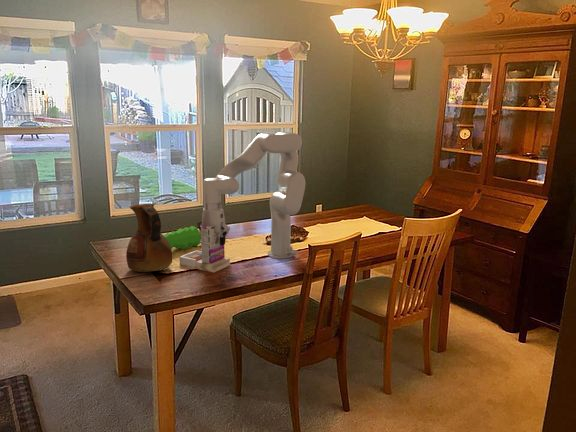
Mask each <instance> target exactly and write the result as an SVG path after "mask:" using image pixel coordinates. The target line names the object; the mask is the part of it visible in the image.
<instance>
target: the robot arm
mask: <svg viewBox="0 0 576 432" xmlns="http://www.w3.org/2000/svg"><path fill="white" fill-rule="evenodd" d="M302 145H303V140H302V136H301V135H299V134H298V133H295V132H288V131H279V132H276V133H274V134H272V133H264V132H261V133H259V134H257V136H255V137H254V139H253V140H252V141H251V142H250V143H249V144H248V145H247V147H246V148H244V150H243V151H242V153H241V154H240V155H239V156H237V157H235V158H234V159H232V160H231V161H230V162H228V163H227V164H226V165H225V166H223V168H222V169H221V170H220V171H219V172H218V173H217V175H216V176H215V177H207V178H204V179H203V181H202V185H203V186H202V189H203V192H202V193H203V209H202V214H201V215H202V216H201V221H199V222H197V223H196V224H197V225H196V226H197V228H198V231H201V227H204V226H211V227H214V231H215V232H218V233H219V234H220V236H221V237H220V245H221V246H222V245H224V246H225V245H226V236H227V235H228V234H229V232H230V230H231V227H230V226H229V225H227V224H226V219H225V218H226V217H225V213H224V209H223V206H224V205H223V204H222V197H221V196H222V195H233V194H236V193H237V192H238V191H239V189H240V183H239V181H238V180H237V179H236V177H237V176H238V175H240V174H242V173H244V172H248V171H251V170H253V169H254V168H255V167H256V166H257V165H258V164H259V163H260V162H261V160H262V159H263V158H264V157H265V155H266V154H267V153H268V154H279V156H280V163H279V168H278V173H277V178H276V184H277V186H278V187H279V188H280V189H283V190H285V191H281V190H279V191H275V192H273V193H272V195H271V196H270V199H269V209H270V215H271V216H270V217H271V218H270V220H271V221H270V223H271V224H270V225H271V226H270V250H269V251H268V252H267V256H268V257H270V258H272V259H278V260H279V259H281V260H282V259H290V258H292V257H293V256H296V255H297V254H298V252H297V251H298V250H297V249H293V246H292V245H291V234H292V233H291V231H292V230H291V228H292V227H291V225H292V224H291V223H292V218H291V217H292V216H293V215H297V214H298V212H299V211H300V209H301V207H302V203H303V199H304V196H305V195H304V194H305V190H306V179H305V178H306V177H305V176H304V175H303V174H302V173H301V172H299V171H298V165H299V154H298V151H299V150H300V149H301V148H302ZM222 233H223V234H222Z"/></svg>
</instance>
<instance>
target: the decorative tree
mask: <svg viewBox="0 0 576 432" xmlns="http://www.w3.org/2000/svg"><path fill="white" fill-rule="evenodd" d="M163 236H164V237H165V238H166V239H167V241H168V242H169V244H170V247H171V250H172V249H173V248H175V249H181V250H186V248H189V249H191V248H192V247H198V246H199V245H201V244H200V243H201V231H200V230H199V228H198V226H193V225H191V226H190V227H187V226H185V227H184V228H179V229H177V230H176V231H173V230H172V231H171V232H166V233H165V234H164V235H163Z"/></svg>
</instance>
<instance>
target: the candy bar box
mask: <svg viewBox="0 0 576 432" xmlns="http://www.w3.org/2000/svg"><path fill="white" fill-rule="evenodd" d="M222 234H223V233H222ZM220 237H221V236H220V234H219V233H218V232H215V231H214V227H211V226H204V227H201V242H200V243H201V244H200V245H201V246H200V247H201V248H200V249H201V251H202V262H203V263H208V264H211V263H214V262H216V261H218V260H220V259H223V258H226V257H225V244H224V245H222V246H221V245H220Z"/></svg>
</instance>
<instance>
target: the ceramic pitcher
mask: <svg viewBox="0 0 576 432" xmlns="http://www.w3.org/2000/svg"><path fill="white" fill-rule="evenodd" d="M154 206H155V203H140V204H138V203H137V204H133V205H131V206H129V209H130V210H132V211H133V212H134V214H135V216H136V217H135V218H136V221H137V230H136V232H135V233H134V234H133V235H132V236H131V238H130V240H129V241H128V244H127V247H126V255H125V257H126V264H127V266H128V269H129V270H132V271H134V272H141V273H142V272H143V273H145V272H147V273H148V272H156V271H164V270H166V269H167V270H168V268H169V267H170V266H171V264H172V262H173V251H172V249H171V247H170V244H169V242H168V241H167V239H166V238H165V237H164V235H163V234H162V233H161V230H162V229H161V227H162V222H161V218H160V214H159V212H158V210H156V208H155V207H154Z"/></svg>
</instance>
